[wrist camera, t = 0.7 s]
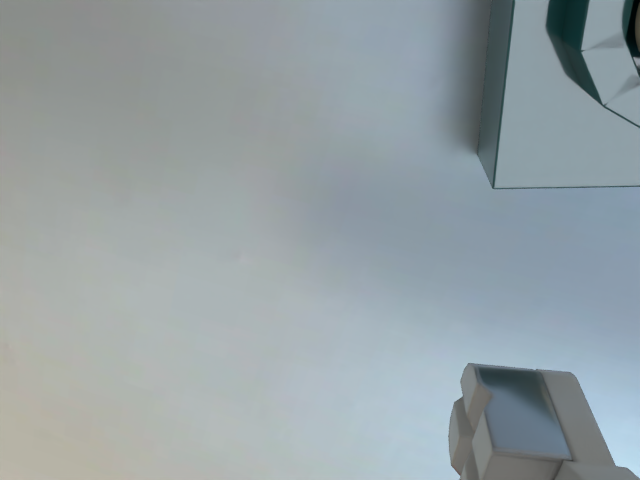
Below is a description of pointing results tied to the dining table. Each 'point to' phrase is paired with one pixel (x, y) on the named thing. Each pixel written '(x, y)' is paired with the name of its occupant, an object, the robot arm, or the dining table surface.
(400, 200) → the dining table surface
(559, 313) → the dining table surface
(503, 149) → the teal push button box
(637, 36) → the cream push button
